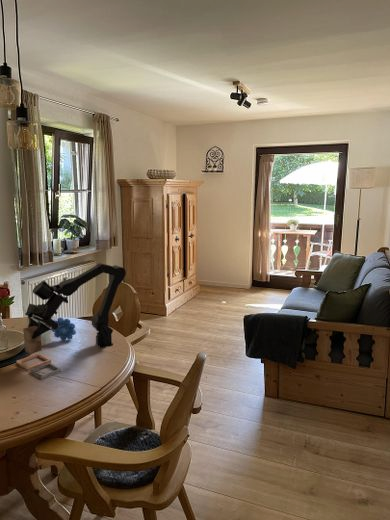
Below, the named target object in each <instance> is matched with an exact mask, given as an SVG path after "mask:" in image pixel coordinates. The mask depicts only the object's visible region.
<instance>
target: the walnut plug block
mask: <svg viewBox="0 0 390 520" xmlns="http://www.w3.org/2000/svg"><path fill="white" fill-rule="evenodd" d="M36 329H37V326H31V327H28V326H27V327H24V328H22V330H23V341H24V342H23V343H24V352H26V353H28V354H30V355H32V354H33V355H34V354H37V353H39V352H42V349H43V347H42V346H43V345H42V344H41V335H40V336H38V337H36V338H35V339H32V336H33V334H34V332H35V331H36Z"/></svg>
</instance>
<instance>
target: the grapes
mask: <svg viewBox="0 0 390 520" xmlns="http://www.w3.org/2000/svg"><path fill="white" fill-rule="evenodd" d="M53 320H54V321H55V322H57V323H58V326H59V327H58V328H57V330H54V329H52V327H51V328H50V329H51V330H50V331H51V332H52V333H53V336H54V337H55V338H59V339H60V340H61V341H66V340H72V339H73V336H74V335H76V334H77V331H76V329H75V328H76V325H75V324H74V322H71V320H70V319H69V318H63V317H58V318H57V320H55V319H53Z"/></svg>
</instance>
